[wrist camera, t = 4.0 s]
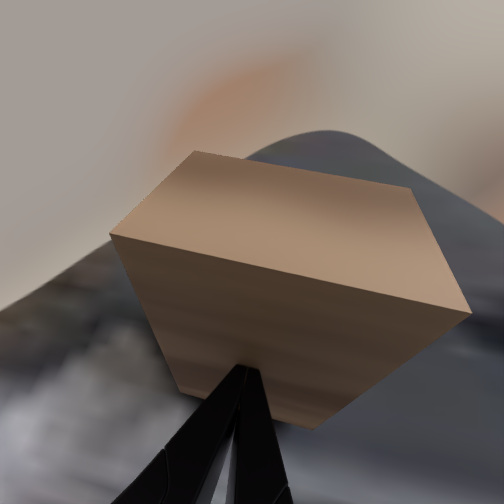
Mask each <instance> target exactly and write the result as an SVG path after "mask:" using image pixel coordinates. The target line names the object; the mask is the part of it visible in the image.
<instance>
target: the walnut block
mask: <svg viewBox="0 0 504 504" xmlns="http://www.w3.org/2000/svg"><path fill="white" fill-rule="evenodd" d="M109 234H110V236H111V239H112V241H113V243H114V245H115V247H116V250H117V252H118V254H119V256H120V259H121V261H122V263H123V265H124V268H125V270H126V272H127V274H128V277H129V279H130V281H131V283H132V286H133V288H134V290H135V292H136V295H137V297H138V299H139V301H140V303H141V306H142V308H143V310H144V312H145V315H146V317H147V319H148V321H149V324H150V326H151V328H152V330H153V333H154V335H155V337H156V339H157V342H158V344H159V346H160V348H161V350H162V353H163V355H164V357H165V359H166V362H167V364H168V366H169V368H170V371H171V373H172V375H173V377H174V380H175V382H176V384H177V386H178V389H179V391H180V392H181V393H185V394H188V395H192V396H195V397H199V398H202V399H206V398H207V397H208V396H209V394H210V393H211V392H212V391H213V390H214V389H215V387H216V386H217V385H218V384H219V383H220V382H221V380H222V379H223V378H224V377H225V376H226V375H227V374H228V372H229V371H230V370H231V369H232V368H233V367H234V365H236V364H240V365H244V366H246V367H247V370H248V368H249V367H252V368H255V369H259V370H260V373H261V377H262V381H263V384H264V388H265V392H266V396H267V400H268V404H269V408H270V412H271V416H272V419H275V420H279V421H282V422H286V423H289V424H293V425H296V426H299V427H303V428H306V429H310V430H314V429H315V428H316V427H318V426H319V425H320V424H322V423H323V422H325V421H326V420H327V419H329V418H330V417H331V416H333V415H334V414H335V413H337V412H338V411H340V410H341V409H342V408H344V407H345V406H346V405H348V404H349V403H350V402H352V401H353V400H355V399H356V398H357V397H359V396H360V395H361V394H363V393H364V392H366V391H367V390H368V389H370V388H371V387H372V386H374V385H375V384H376V383H378V382H379V381H381V380H382V379H383V378H385V377H386V376H387V375H389V374H390V373H391V372H393V371H394V370H396V369H397V368H398V367H400V366H401V365H402V364H404V363H405V362H406V361H408V360H409V359H411V358H412V357H413V356H415V355H416V354H417V353H419V352H420V351H422V350H423V349H424V348H426V347H427V346H428V345H430V344H431V343H432V342H434V341H435V340H437V339H438V338H439V337H441V336H442V335H443V334H445V333H446V332H447V331H449V330H450V329H452V328H453V327H454V326H456V325H457V324H458V323H460V322H461V321H463V320H464V319H465V318H467V317H468V316H469V315H471V314H472V312H471V310H470V308H469V306H468V304H467V302H466V300H465V298H464V296H463V294H462V292H461V290H460V288H459V286H458V284H457V282H456V280H455V278H454V276H453V274H452V272H451V270H450V268H449V266H448V264H447V262H446V260H445V258H444V256H443V254H442V252H441V250H440V248H439V246H438V244H437V242H436V240H435V238H434V236H433V234H432V232H431V230H430V228H429V226H428V224H427V222H426V220H425V218H424V216H423V214H422V212H421V210H420V208H419V206H418V204H417V202H416V200H415V198H414V196H413V194H412V192H411V190H410V188H405V187H399V186H394V185H388V184H382V183H376V182H371V181H365V180H359V179H354V178H348V177H342V176H336V175H331V174H325V173H319V172H313V171H308V170H302V169H296V168H291V167H285V166H279V165H273V164H268V163H262V162H256V161H251V160H245V159H239V158H233V157H228V156H222V155H216V154H210V153H205V152H199V151H194V152H192V153H191V155H190V156H188V157H187V158H186V159H185V160H184V161H183V162H182V163H181V164H180V165H179V166H178V167H177V168H176V169H175V170H174V171H173V172H172V173H171V174H170V175H169V176H168V177H167V178H166V179H165V180H164V181H162V182H161V183H160V184H159V185H158V186H157V187H156V188H155V189H154V190H153V191H152V192H151V193H150V194H149V195H148V196H147V197H146V198H145V199H144V200H143V201H142V202H141V203H140V204H139V205H138V206H137V207H135V208H134V209H133V210H132V211H131V212H130V213H129V214H128V215H127V216H126V217H125V218H124V219H123V220H122V221H121V222H120V223H119V224H118V225H117V226H116V227H115V228H114V229H113V230H112V231H111V232H110V233H109ZM246 374H247V372H246ZM245 378H246V377H245ZM244 383H245V382H244ZM239 406H240V405H239Z"/></svg>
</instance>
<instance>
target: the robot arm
mask: <svg viewBox="0 0 504 504" xmlns="http://www.w3.org/2000/svg"><path fill="white" fill-rule="evenodd" d="M246 372H247V374H246ZM245 377H246V378H245ZM244 382H245V383H244ZM239 405H240V406H239ZM238 410H239V411H238ZM237 414H238V416H237ZM236 419H237V421H236ZM235 423H236V426H235ZM234 428H235V431H234ZM233 432H234V436H233ZM232 436H233V443H232V450H231V459H230V468H229V477H228V485H227V494H226V503H225V504H293V500H292V496H291V492H290V488H289V487H288V480H287V476H286V472H285V468H284V464H283V460H282V456H281V452H280V448H279V444H278V440H277V436H276V432H275V428H274V424H273V420H272V416H271V412H270V408H269V404H268V400H267V396H266V392H265V388H264V384H263V381H262V377H261V373H260V370H259V369H255V368H252V367H249V368H248V370H247V367H246V366H244V365H240V364H236V365H234V367H233V368H232V369H231V370H230V371H229V372H228V374H227V375H226V376H225V377H224V378H223V379H222V380H221V382H220V383H219V384H218V385H217V386H216V387H215V389H214V390H213V391H212V392H211V393H210V394H209V396H208V397H207V398H206V399H205V400H204V401H203V402H202V404H201V405H200V406H199V407H198V408H197V409H196V411H195V412H194V413H193V414H192V415H191V416H190V417H189V419H188V420H187V421H186V422H185V423H184V424H183V426H182V427H181V428H180V429H179V430H178V431H177V433H176V434H175V435H174V436H173V437H172V438H171V439H170V441H169V442H168V443H167V444H166V445H165V447H164V449H162V450H161V451H160V452H159V453H158V454H157V455H156V457H155V458H154V459H153V460H152V461H151V462H150V463H149V465H148V466H147V467H146V468H145V469H144V470H143V471H142V472H141V473H140V474H139V475H138V477H137V478H136V479H135V480H134V481H133V482H132V483H131V484H130V485H129V486H128V487H127V488H126V489H125V490H124V491H123V492H122V493H121V494H120V495H119V496H118V497H117V498H116V499H115V500H114V501H113V502H112V503H111V504H210V503H211V500H212V497H213V494H214V491H215V488H216V485H217V482H218V479H219V476H220V473H221V470H222V467H223V464H224V461H225V458H226V455H227V452H228V449H229V446H230V443H231V440H232Z"/></svg>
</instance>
